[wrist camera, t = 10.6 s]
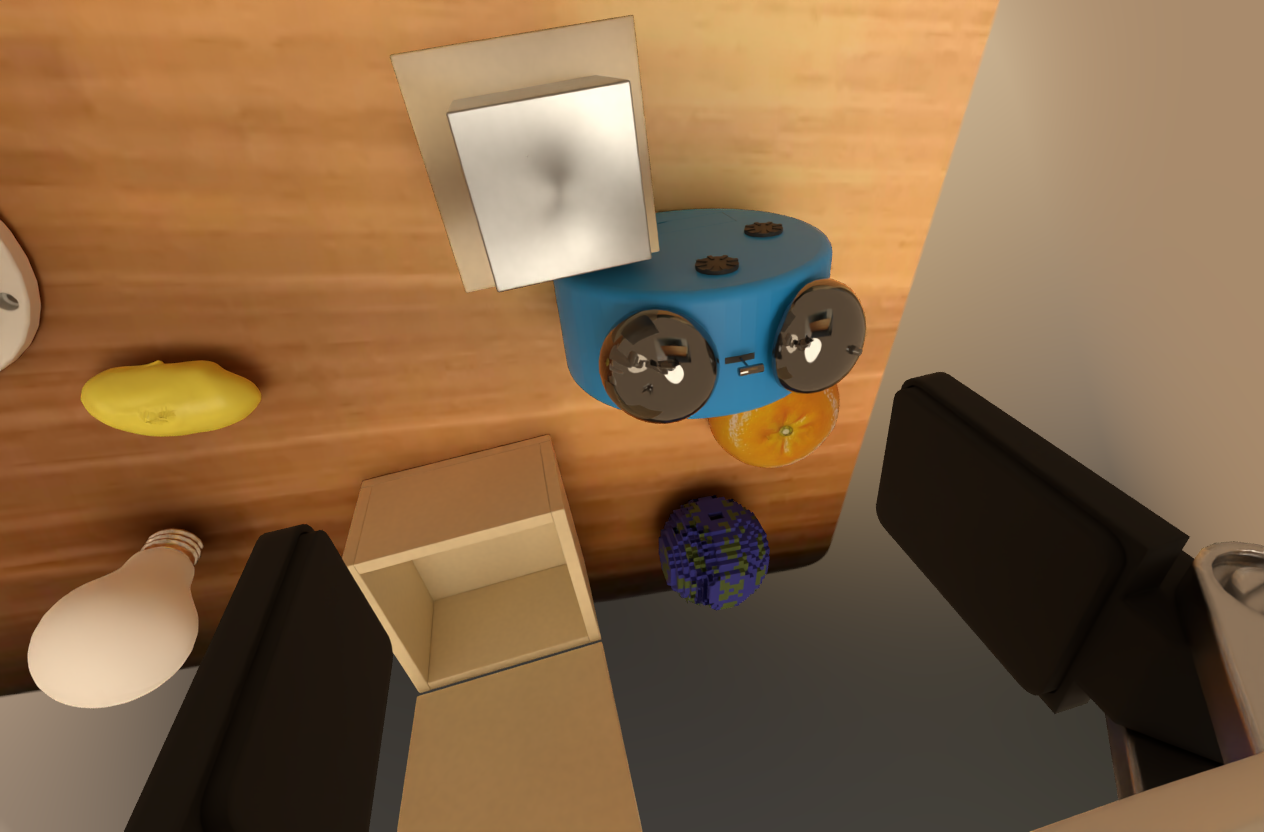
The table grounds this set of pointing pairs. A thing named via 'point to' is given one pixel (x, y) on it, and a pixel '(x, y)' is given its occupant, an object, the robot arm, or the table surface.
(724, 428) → the fruit
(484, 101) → the steel block
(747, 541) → the ball
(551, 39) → the block
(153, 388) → the yellow potato
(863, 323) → the alarm clock
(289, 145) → the table surface
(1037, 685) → the robot arm
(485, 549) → the open storage bin
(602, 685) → the wooden box lid
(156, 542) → the light bulb
